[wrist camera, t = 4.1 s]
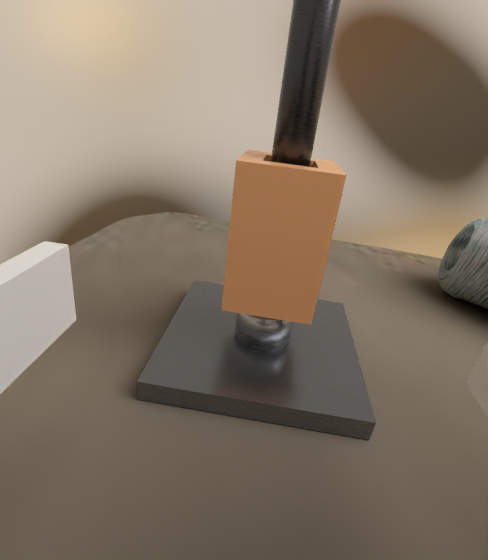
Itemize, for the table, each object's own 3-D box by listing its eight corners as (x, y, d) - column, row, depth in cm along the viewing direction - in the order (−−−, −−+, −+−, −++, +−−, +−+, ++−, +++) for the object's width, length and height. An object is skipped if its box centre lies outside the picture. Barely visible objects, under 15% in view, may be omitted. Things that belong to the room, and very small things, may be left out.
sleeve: (307, 284, 24) (333, 161, 20) (311, 324, 19) (346, 175, 16) (234, 273, 24) (247, 149, 21) (221, 310, 20) (236, 160, 16)
